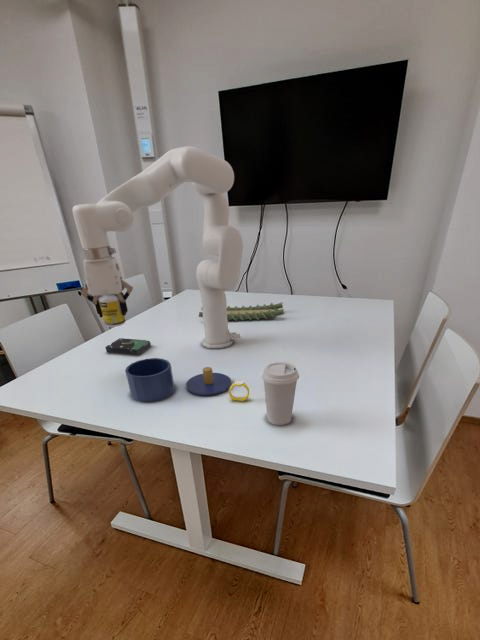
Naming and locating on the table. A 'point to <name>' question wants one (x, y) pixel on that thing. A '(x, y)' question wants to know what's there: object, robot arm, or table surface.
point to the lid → (208, 383)
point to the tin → (150, 379)
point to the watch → (237, 383)
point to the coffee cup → (280, 391)
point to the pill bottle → (111, 309)
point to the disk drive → (128, 346)
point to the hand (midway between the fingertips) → (113, 314)
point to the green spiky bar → (253, 312)
